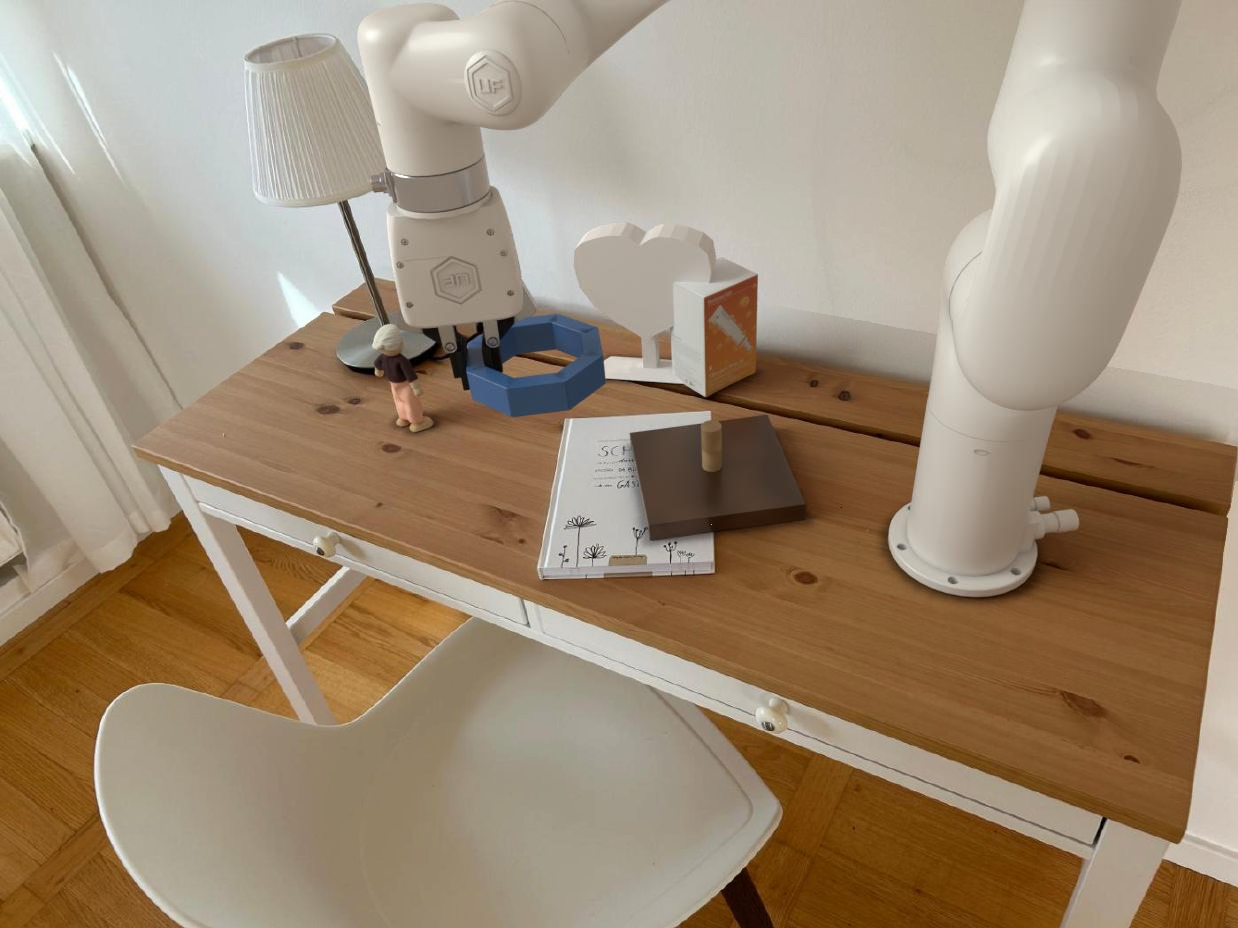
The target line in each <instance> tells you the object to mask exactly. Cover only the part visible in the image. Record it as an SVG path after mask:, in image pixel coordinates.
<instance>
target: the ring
mask: <svg viewBox="0 0 1238 928" xmlns="http://www.w3.org/2000/svg"><path fill="white" fill-rule="evenodd" d="M482 336H483V333H482V334H480V335H479V336H477V337H474V339H472V340H470V341H468V343H467V349H468V351H467V368H466V373H467V377H468V382H469V387H470V390H469V392H470V395H471V399H472V400H473V401H474V402H477V403H479V404H481V405H483V406H486V407H488V408H490V409H492V410H494V411H497V412H499V413H502V414H503V415H505V416H508V417H510V418H520V417H521V418H522V417H528V416H529V417H530V416H536V415H543V414H552V413H553V414H554V413H560V412H561V413H562V412H567V411H571V410H572V409H573V408H575V407H577V405H579V404H580V403H581V402H583V401H585V400H586V399H587V398H589V397H590V396H591V395H593V394H594V393H595V392H597V391H598V390H599V389H600V388H602V387H603V386H604V385H606V383H607V380H606V379H607V378H605V368H604V360H605V359H604V352H603V347H602V342H601V336H600V331H599V327H598V326H595V325H592V324H589V323H586V322H583V321H581V320H578V319H575V318H572V317H570V316H566V315H564V314H560V313H551V314H543V315H532V316H530V317H528V318H525V319H523V320H521V321H519V322H516V323H514V324H513V326H512V327H511V328H510V329H509V331H508V332H507V333H506V334H505V335H504V336H503V338H502V339H501V340H500V344H499V347H500V352H501V358H502V364H503V365H504V364H505V363H507V362H508V361H509V360H511V359H512V358H514V357H516V356H517V355H522V354H530V353H531V354H532V353H539V352H546V351H547V352H548V351H559V352H561V353H564V354H566V355H569V356H572V357H574V358H576V359H574V360H573V361H572V362H570V363H569V364H567V365H565V366H564V367H563V368H561V369H560V370H559V371H557V372H549V373H541V374H534V375H527V376H518V377H517V376H516V377H512V376H511V375H508V374H506V373H504V372H503V373H501V372H498V371H496V370H493V369H491V368H489V367H486V366H485V364H484V361H483V356H482Z"/></svg>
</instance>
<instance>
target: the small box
mask: <svg viewBox="0 0 1238 928" xmlns="http://www.w3.org/2000/svg"><path fill="white" fill-rule="evenodd" d="M758 284H759V274H758V273H757V272H754V271H752V270H750V269H748V268H746V267H744V266H742V265H740V264H738V263H736V262H734V261H731V260H729V259H727V258H725V257H721V256H720V257H719V258H716V262H715V268H714V271H713V274H712V277H711V279H710V282H709V283H696V282H674V283H673V304H674V326H673V327H671V328H669V329H670V348H671V349H670V351H671V352H670V353H671V360H672V373H673V374H674V375H675V376H677V377H678V378H679V379H680V380H681V381H682V382H683V383H684V384H683V385H685V386H686V387H688V388H690V389H691V390H693V391H694V392H696V393H698V394H700V395H701V396H702V397H704V398H708V397H710V396H711V395H713V394H716V393H717V392H718V391H721V390H724V389H725V388H727V387H728V386H730V385H733V384H735V383H737V382H739V381H741V380H743V379H745V378H747V377H749V376H752V375H754V374H755V373H756V371H757V370H756V369H757V336H758V335H757V332H758V331H757V329H758V293H759V292H758V286H759V285H758Z"/></svg>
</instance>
